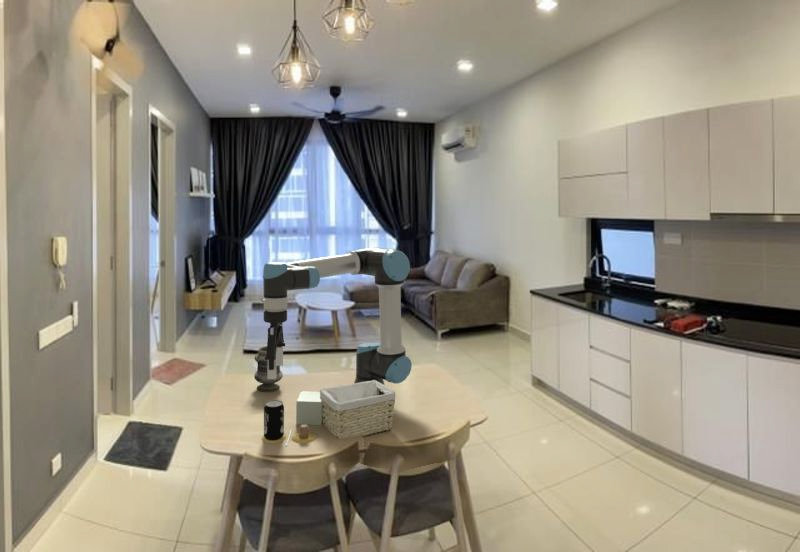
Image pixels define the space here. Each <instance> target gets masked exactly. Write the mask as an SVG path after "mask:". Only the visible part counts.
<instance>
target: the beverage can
mask: <svg viewBox="0 0 800 552" xmlns="http://www.w3.org/2000/svg"><path fill="white" fill-rule="evenodd" d="M284 434H285V405H284V403H283V401H282V400H280V399H272V400H271V399H270V400H268V401H266V402H265V404H264V407H263V435H264V437H265V438H266V439H267V440H272V441H274V440H279V439H281V438H282V436H283V435H284Z"/></svg>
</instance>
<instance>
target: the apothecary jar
mask: <svg viewBox="0 0 800 552" xmlns="http://www.w3.org/2000/svg"><path fill="white" fill-rule="evenodd" d="M266 354H267V345H265V346H262V347H259V349H258V351H257V353H256V354H255V355H254V360H255V362H256V363H257V369H256V372H255V373H254V375H253V376H254V380H255V381H256V382H257V383H260V384H259V385H257V387H256V390H258V391H259V392H263V393H264V392H265V393H272V392H276V391H278V390H280V389H281V386H280V385H279V384H277V383H279V382H280V380H282V379H283V377H284V375H283V371H282V370H281V366H276V379H267V360H265V357H266ZM270 356H273V355H270Z"/></svg>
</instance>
